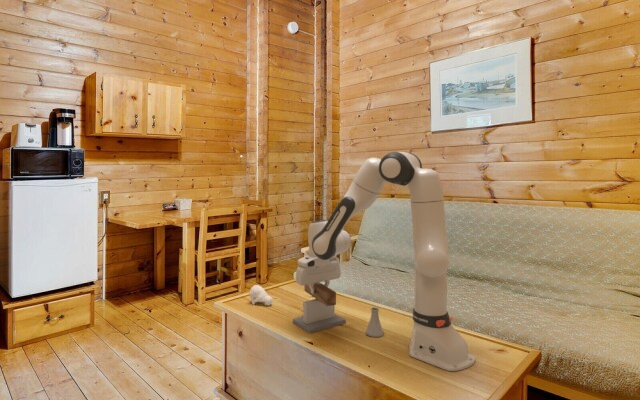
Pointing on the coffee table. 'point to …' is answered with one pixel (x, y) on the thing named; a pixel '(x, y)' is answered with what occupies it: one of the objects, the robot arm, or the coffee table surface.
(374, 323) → the flask
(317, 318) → the stand
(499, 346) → the coffee table surface
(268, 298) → the white animal figurine
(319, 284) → the walnut stick
